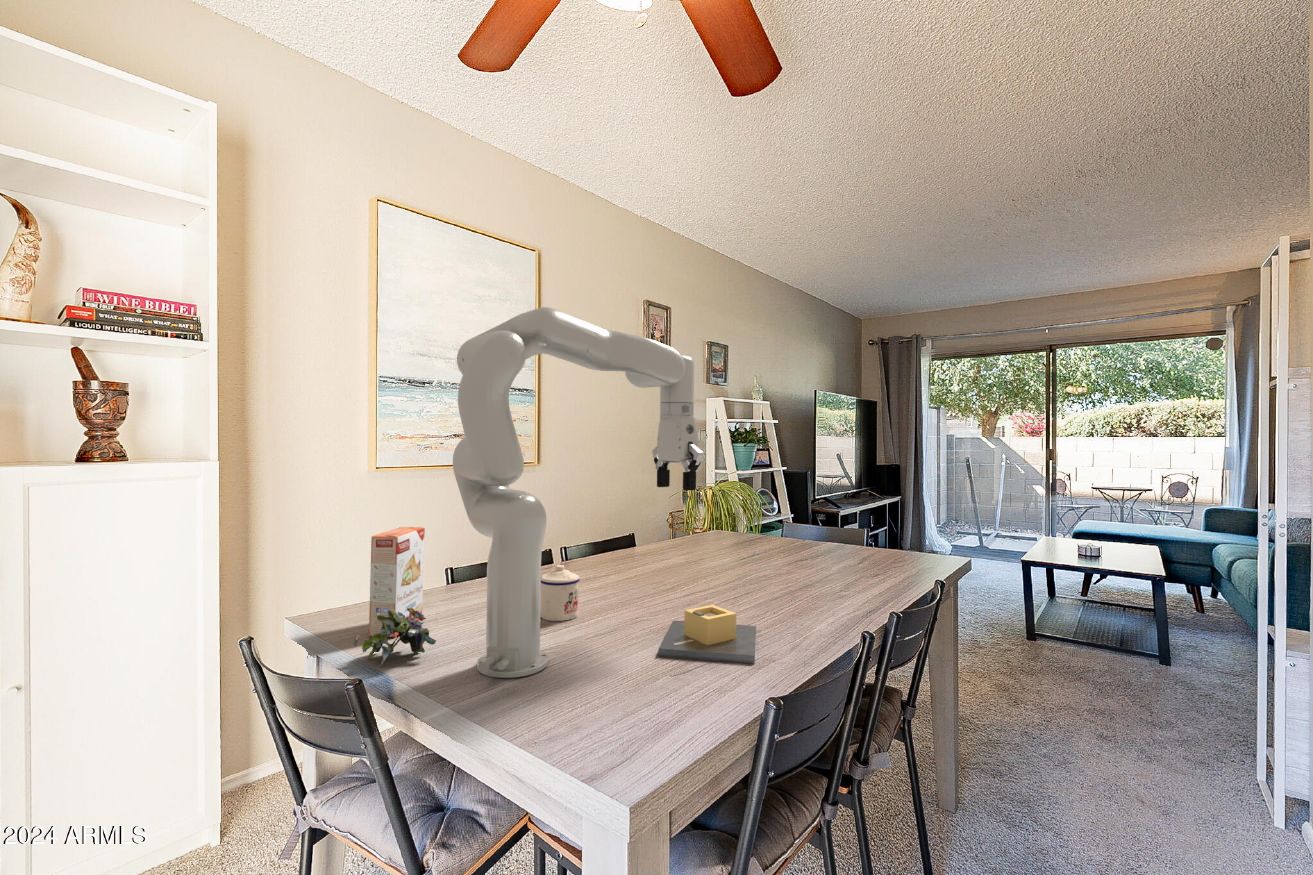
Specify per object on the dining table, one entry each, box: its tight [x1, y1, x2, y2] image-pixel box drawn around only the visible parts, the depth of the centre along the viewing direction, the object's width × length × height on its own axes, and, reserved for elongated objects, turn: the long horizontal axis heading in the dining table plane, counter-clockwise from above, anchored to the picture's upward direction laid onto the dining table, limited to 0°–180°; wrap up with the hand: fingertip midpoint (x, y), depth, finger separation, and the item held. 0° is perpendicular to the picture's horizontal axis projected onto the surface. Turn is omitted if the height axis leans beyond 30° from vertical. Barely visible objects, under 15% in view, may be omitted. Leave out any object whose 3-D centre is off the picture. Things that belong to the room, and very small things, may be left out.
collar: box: [684, 604, 737, 645], centre depth 121 cm, size 7×7×5 cm
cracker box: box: [368, 526, 426, 638], centre depth 129 cm, size 14×6×21 cm, turn 179°
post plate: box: [658, 613, 757, 665], centre depth 121 cm, size 18×18×6 cm
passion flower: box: [352, 608, 437, 666], centre depth 111 cm, size 11×11×12 cm
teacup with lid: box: [540, 564, 580, 622], centre depth 141 cm, size 12×9×12 cm
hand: (675, 488), depth 134 cm, fingers open, 9 cm apart
